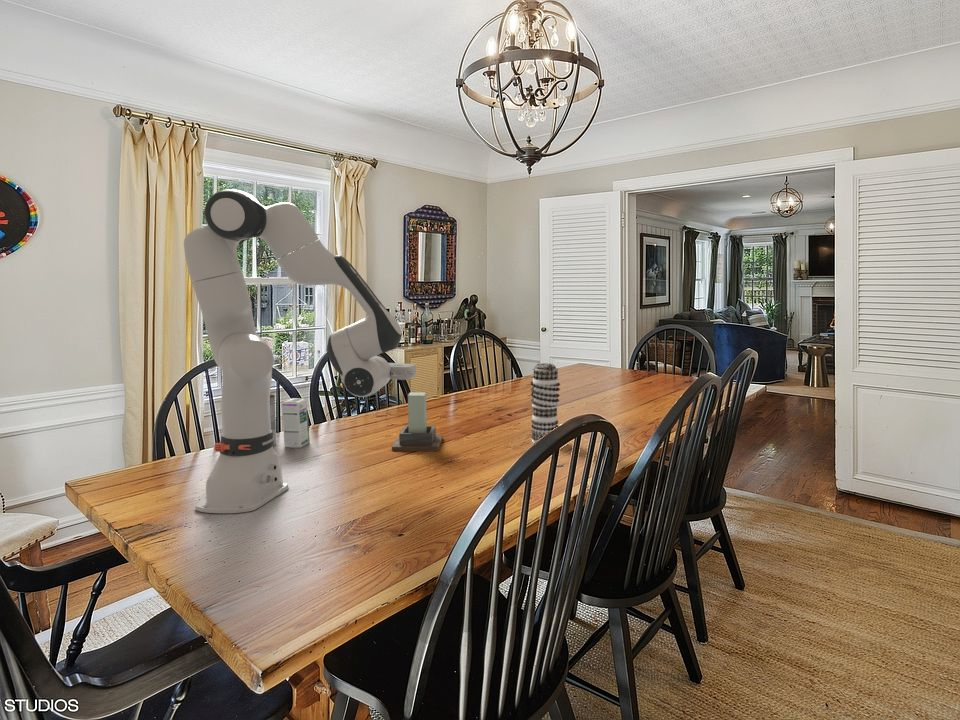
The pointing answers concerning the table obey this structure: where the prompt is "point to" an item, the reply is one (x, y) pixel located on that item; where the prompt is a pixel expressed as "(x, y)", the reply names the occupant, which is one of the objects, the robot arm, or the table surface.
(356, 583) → the table surface
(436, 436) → the dark grey square holder
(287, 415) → the syrup box
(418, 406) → the sage peg
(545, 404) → the decorative candle
